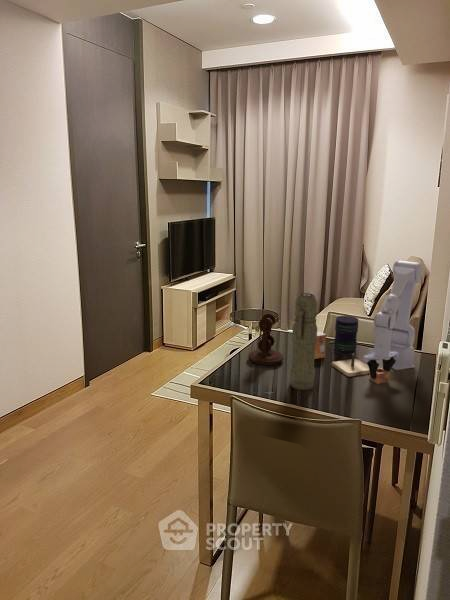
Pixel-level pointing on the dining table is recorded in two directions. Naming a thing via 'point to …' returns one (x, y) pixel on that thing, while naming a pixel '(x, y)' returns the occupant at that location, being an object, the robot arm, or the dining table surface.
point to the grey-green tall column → (304, 342)
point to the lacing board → (351, 367)
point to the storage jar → (346, 335)
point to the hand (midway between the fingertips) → (379, 376)
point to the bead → (381, 376)
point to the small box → (320, 345)
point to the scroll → (266, 344)
